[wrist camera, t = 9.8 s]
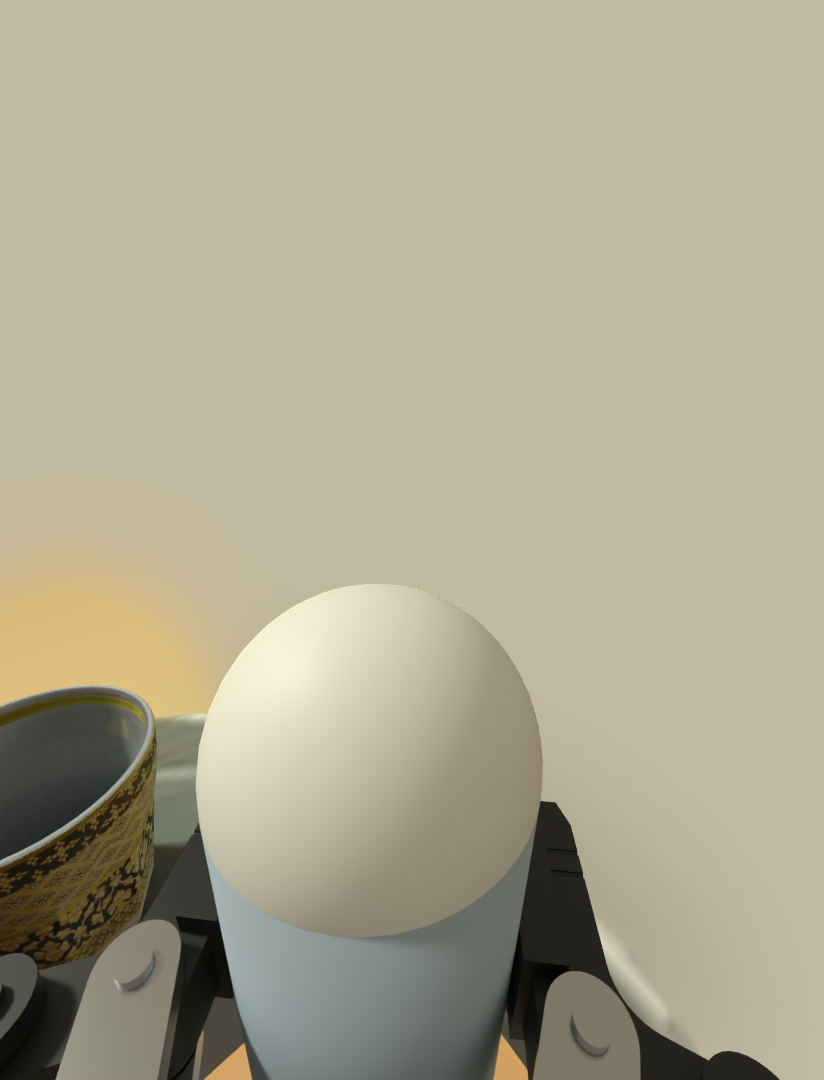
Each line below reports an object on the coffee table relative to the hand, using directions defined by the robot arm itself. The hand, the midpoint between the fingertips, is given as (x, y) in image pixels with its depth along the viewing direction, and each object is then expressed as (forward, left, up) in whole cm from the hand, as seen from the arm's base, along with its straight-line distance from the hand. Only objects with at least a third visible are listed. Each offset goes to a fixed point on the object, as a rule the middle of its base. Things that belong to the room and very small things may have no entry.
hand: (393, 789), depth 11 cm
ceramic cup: (-16, -9, -16) cm, 25 cm away
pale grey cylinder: (+2, -2, -7) cm, 7 cm away
